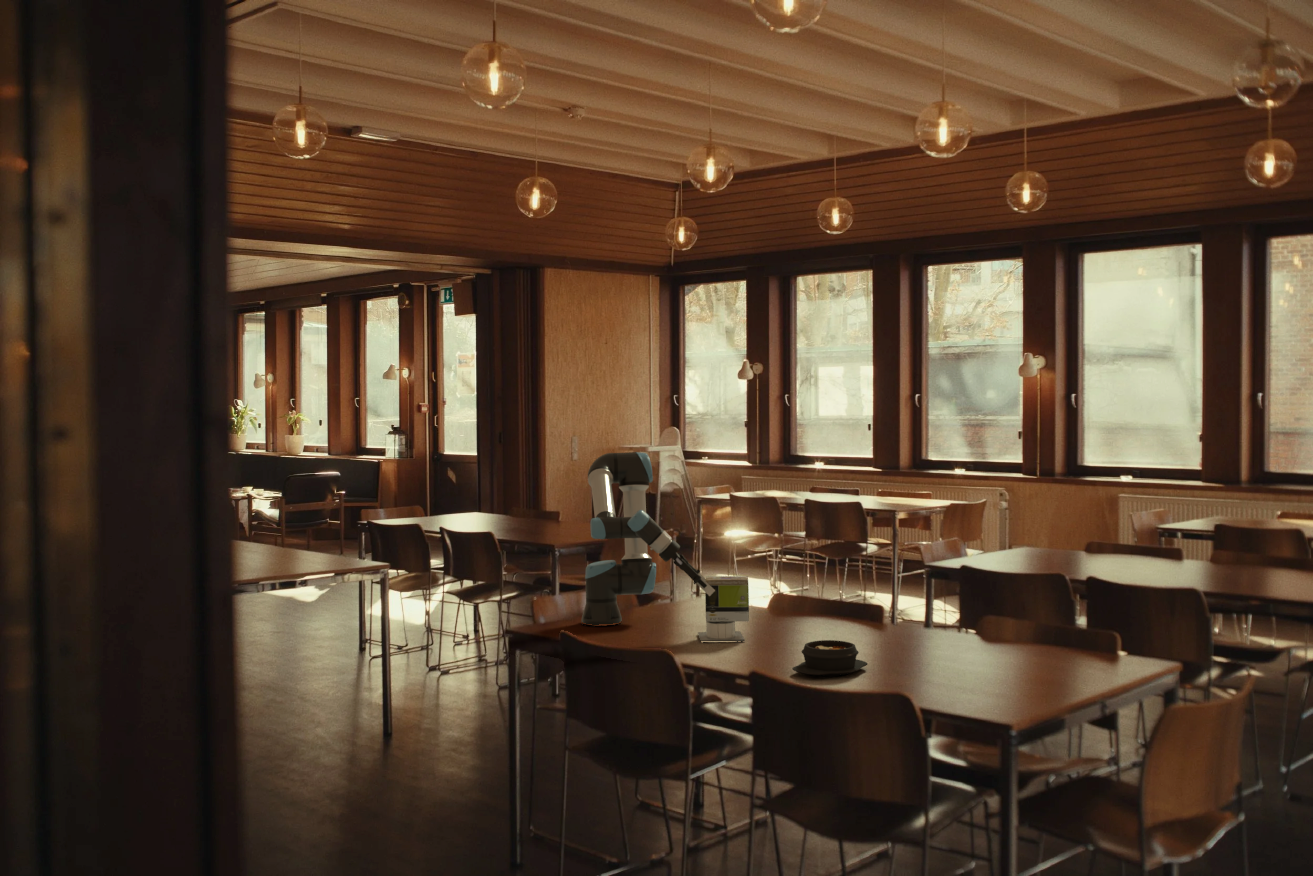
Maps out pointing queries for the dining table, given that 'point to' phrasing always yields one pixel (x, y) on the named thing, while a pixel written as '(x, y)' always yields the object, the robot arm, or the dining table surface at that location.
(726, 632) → the bowl
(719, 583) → the tea box
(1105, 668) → the dining table surface
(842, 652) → the casserole
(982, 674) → the dining table surface
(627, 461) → the robot arm
